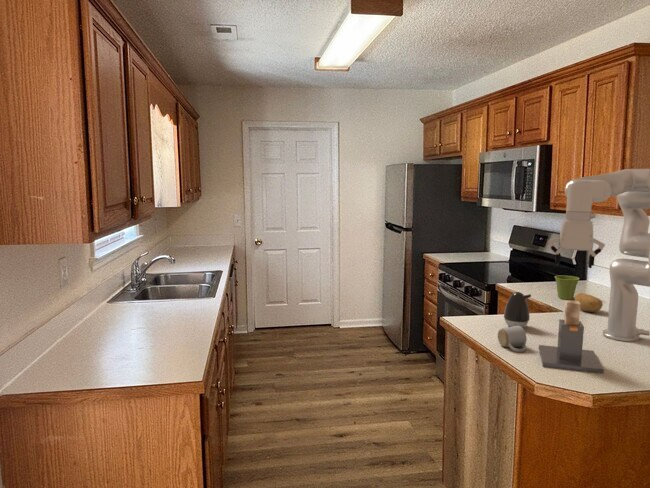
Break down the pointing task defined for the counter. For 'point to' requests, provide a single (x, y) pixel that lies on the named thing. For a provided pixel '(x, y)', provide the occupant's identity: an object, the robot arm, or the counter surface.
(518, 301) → the pump dispenser
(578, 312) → the post
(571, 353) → the stand
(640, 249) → the robot arm
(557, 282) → the plant pot
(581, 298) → the potato
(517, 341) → the ceramic mug
